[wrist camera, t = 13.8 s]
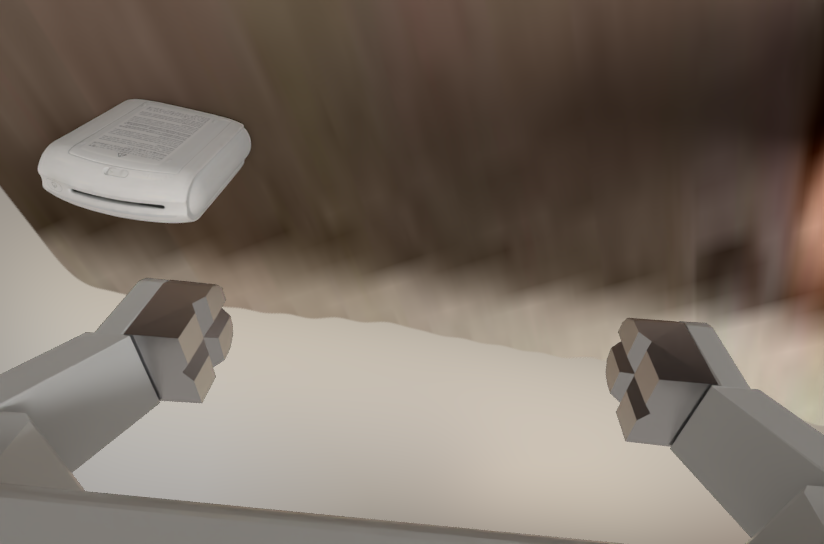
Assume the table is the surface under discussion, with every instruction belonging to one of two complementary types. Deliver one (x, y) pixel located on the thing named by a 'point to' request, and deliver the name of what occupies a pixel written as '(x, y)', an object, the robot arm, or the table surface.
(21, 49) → the table surface
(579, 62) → the table surface
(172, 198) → the photo printer
